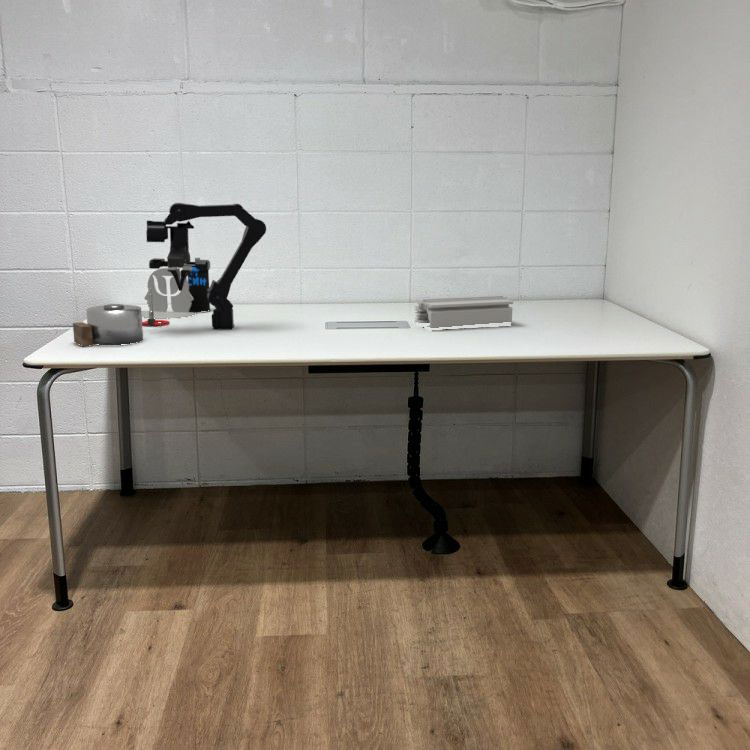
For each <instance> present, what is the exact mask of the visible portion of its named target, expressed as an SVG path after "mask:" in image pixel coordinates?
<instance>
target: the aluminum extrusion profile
mask: <svg viewBox="0 0 750 750" xmlns="http://www.w3.org/2000/svg"><path fill="white" fill-rule="evenodd" d="M513 304H514V301H513V300H510V299H508V296H503V295H493V296H492V295H491V296H472V297H471V296H469V297H467V296H466V297H448V298H445V297H444V298H425V299H424V298H423V299H417V305H415V306H414V308H415V309H414V311H416V312H414V313H415V314H416V315H415V318H414V319H415V320H414V321H415V323H416V322H418V323H430V325H429V326H427V327H430V328H439V327H452V326H463V325H475V324H489V323H503V322H512V323H513V310H514V309H513V307H512V306H510V305H513Z"/></svg>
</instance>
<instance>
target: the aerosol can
mask: <svg viewBox="0 0 750 750" xmlns="http://www.w3.org/2000/svg"><path fill="white" fill-rule="evenodd" d="M196 260H201V257H194V262H195V261H196ZM192 269H193V271H191V272H189V273H188V276H187V281H188V284H189V292H190V294H191V295H192V297H193V298H194V300H192V301H191V303H192V304H191V307H190V309H189V311H192V312H193V313H194V312H201V311H208V310H210V309H211V303H210V302H209V300H208V298H207V293H208V291H207V289H208V288H209V287H210V279H209V278H210V276H209V273H210V272H209V270H210V269H208V270H197V269H196V268H195V267H192Z"/></svg>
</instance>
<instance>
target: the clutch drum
mask: <svg viewBox="0 0 750 750" xmlns="http://www.w3.org/2000/svg"><path fill="white" fill-rule="evenodd" d="M141 311H142V307H141V306H139V305H133V304H121V303H110V304H109V303H108V304H104V305H97V306H92V307H88V308H87V309H86V311H85V312H86V324H88V325H90V326H92V339H93V344H99V345H120V346H122V345H121V344H129V345H131V344H130V343H135V344H137V343H136V342H138V343H141V342H143V341H144V333H143V331H144V329H143V326H142V322H143V318H142V313H141ZM142 340H143V341H142ZM140 341H141V342H140ZM99 345H98V346H99Z"/></svg>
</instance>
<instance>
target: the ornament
mask: <svg viewBox="0 0 750 750" xmlns="http://www.w3.org/2000/svg"><path fill="white" fill-rule="evenodd" d="M167 270H168V267H164V268H163V267H162V268H159V269H156V270H154V271H153V272H152V273H151V274H150V275H149V277H148V280H147V290H148V291H147V293H146V294H145V296H144V300H146V301H147V302H146V304H147V306H148V308H149V288H152V295H153V311H154V318H155V320H171V319H170V318H177V319H182V318H181V317H186V318H189V317H188V316H191V317H193V316H192V315H195V314H197V315H198V313H194V312H189V309H190V307H191V304H192V303H191V301H192V300H194V298H193V297H192V295H191V294H190V292H189V284H188V277H187V278H186V280H185V283H184V286H183V289H182V291H179V289H178V286H177V284H176V281H175V278H174V276H173V275H172V273H171V272H168V271H167ZM166 277H170V279H169V289H170V292H169V293H170V305H171V311H167V310H168V309H169V308H168V305H169V304H168V290H167V288H168V287H167V279H166ZM180 277H181V271H180ZM155 279H156V282H157V287H158V291H159V292H160V293H161V294H160V293H159V292H158V291H157V288H156V285H155ZM178 291H179V293H178V294H176V293H177V292H178ZM174 294H176V295H174ZM141 313H142V317H144V318H143V319H147V318H149V310H141ZM195 316H196V315H195ZM167 318H168V319H167Z"/></svg>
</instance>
